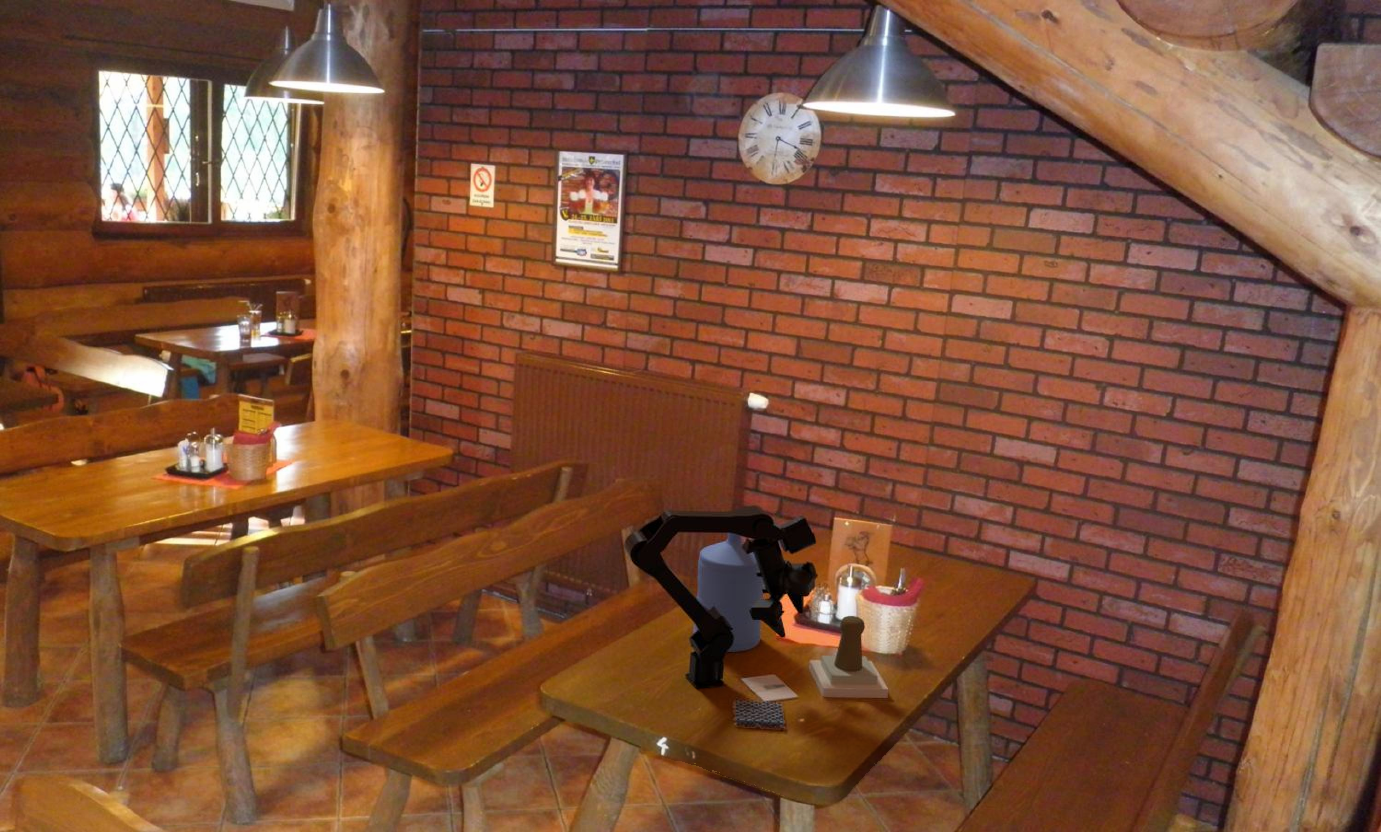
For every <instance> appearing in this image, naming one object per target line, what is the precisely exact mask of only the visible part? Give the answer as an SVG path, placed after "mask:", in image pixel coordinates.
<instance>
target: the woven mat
mask: <svg viewBox="0 0 1381 832" xmlns="http://www.w3.org/2000/svg"><path fill="white" fill-rule="evenodd" d="M732 702H733V703H732V708H733V709H732V713H733V714H734V718H733V719H732V720H733V721H734V722H733V727H736V728H741V729H742V728H744V729H745V728H746V729H747V728H749V729H758V730H759V729H762V730H763V729H764V730H777V731H779V730H781V731H785V730H787V727H786V726H785V724H786V720H785V714H784V712H785V710H784V709H783V704H782V703H781V702H777V701H771V702H768V701H767V702H763V701H762V700H761V699H760V700H758V701H757V700H755V701H754V699H751V700H747V701H746V699H743V700H741V699H740V700H739V701H738V698H735V700H734V701H732ZM773 702H774V703H773Z"/></svg>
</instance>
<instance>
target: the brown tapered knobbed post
mask: <svg viewBox="0 0 1381 832" xmlns="http://www.w3.org/2000/svg"><path fill="white" fill-rule="evenodd" d="M839 626H840V630H841V635H840V639H839V643H838V647H837V652H836V655H835V656H836V659H835V663H834V665H835V666H836V668H838V669H840V670H843V671H848V672H856V671H860V670H861V669H862V656H863V649H862V647H863V646H862V634H864V631H865V627H866V626H865V621H864V620H863V619H862V618H861V617H858V616H856V615H848V616H844V617H843V618H842V619H841V620H840V625H839Z"/></svg>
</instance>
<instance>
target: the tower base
mask: <svg viewBox="0 0 1381 832" xmlns="http://www.w3.org/2000/svg"><path fill="white" fill-rule="evenodd" d="M835 659H836V655H821V658H820V659H819V660H818V659H817V660H816V659H810V660H809V666H808V669H809V671H810V674H811V675H812V677H813V679H814V682H815V683H816V686H817V689H818V690H819V692H820V694H821V696H822V698H852V699H853V698H855V699H857V698H859V699H861V698H862V699H863V698H864V699H865V698H868V699H869V698H871V699H873V698H874V699H876V698H877V699H888V697H889V695H888V694H889V688H888V687H887V684H886V683H885V681H884V680H883V677H882V676H881V674H879V671H878V670H877V668H876V666H875V665H874V663H873V661H872V660H868V657H867V656H865V655H864V656H863V655H862V669H861V670H860V671H856V672H848V671H843V670H840V669H838V668H836V666H835V665H834V663H835Z"/></svg>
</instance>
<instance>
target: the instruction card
mask: <svg viewBox="0 0 1381 832" xmlns="http://www.w3.org/2000/svg"><path fill="white" fill-rule="evenodd" d="M740 679H741V682H743V683H744V684H745V685H746V686H747V687H748V689H750V690H751V691H752V692H753V693H754V694H755V695H756V696H757V697H758V698H759V699H760V700H761V702H762V703H763V702H765V703H766V702H767V701H768V702H769V703H770V702H775V701H776V702H778V701H785V700H792V699H798V698H799V696H798V695H797V694H796V693H795V692H794V691H793V690H792V689H791V688H790V687H789V686H788V685H787V684H786V683H785V682H784V681H782V680H781V679H780V678H779V677H778V676H776V675H775V674H768V675H766V674H765V675H761V676H752V677H751V676H750V677H745V678H743V677H742V678H740Z"/></svg>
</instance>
